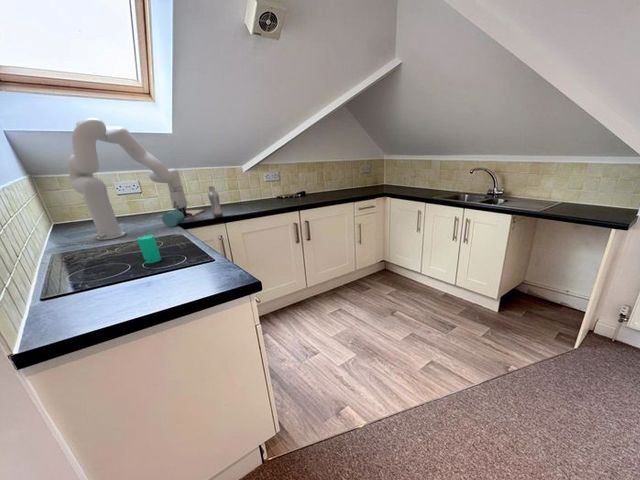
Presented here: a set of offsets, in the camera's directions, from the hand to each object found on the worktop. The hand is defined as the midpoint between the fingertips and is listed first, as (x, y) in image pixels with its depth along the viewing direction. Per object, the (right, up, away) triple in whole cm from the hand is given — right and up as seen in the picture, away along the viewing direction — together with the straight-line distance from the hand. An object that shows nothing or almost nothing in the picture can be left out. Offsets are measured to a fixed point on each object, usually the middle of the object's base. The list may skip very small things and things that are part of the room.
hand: (184, 218), depth 196 cm
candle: (+29, -31, -68) cm, 80 cm away
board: (-9, +5, +16) cm, 19 cm away
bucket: (0, -4, -7) cm, 8 cm away
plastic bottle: (+20, +1, +6) cm, 21 cm away
